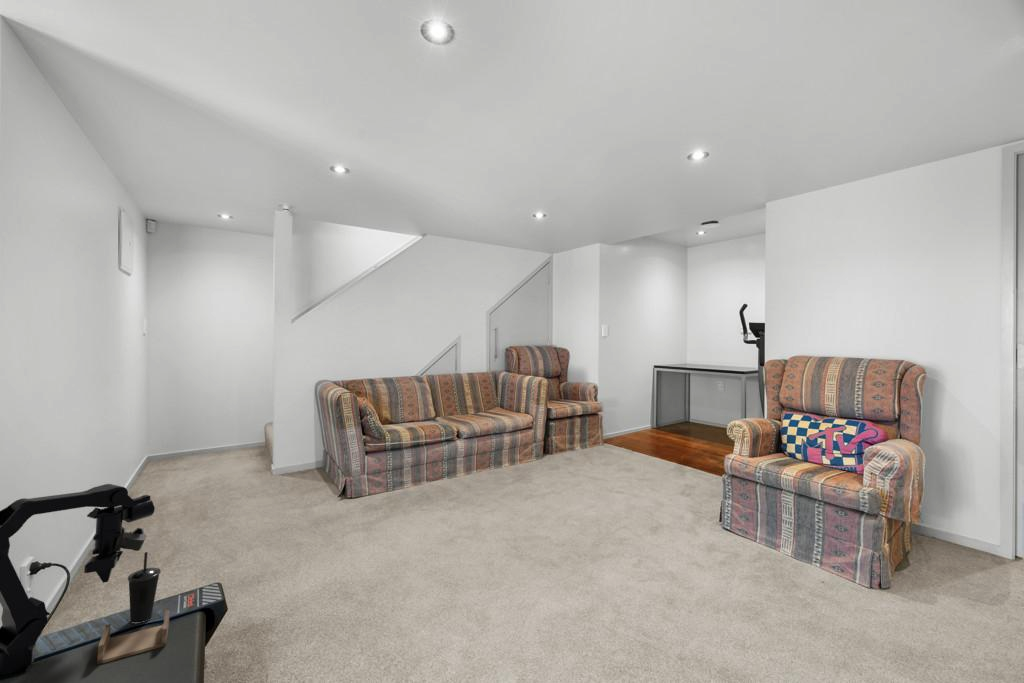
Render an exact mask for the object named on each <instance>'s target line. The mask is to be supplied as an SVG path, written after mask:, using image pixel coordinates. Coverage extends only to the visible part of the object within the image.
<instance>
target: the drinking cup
mask: <svg viewBox="0 0 1024 683" xmlns="http://www.w3.org/2000/svg"><path fill="white" fill-rule="evenodd" d="M147 563H148V552H147V551H145V552H144V557H143V568H142V569H138V570H136V571H134V572H132V573H131V574H129V575H128V577H127V581H128V586H129V587H128V590H129V591H128V592H129V593H128V594H129V595H128V597H129V615H130V616H129V618H130V620H131V621H130V623H131V622H142V621H146V620H148V619H149V620H150V619H151V618H152V616H153V610H154V603H155V598H156V594H157V587H158V583H159V577H160V575H161V568H159V567H147V565H148V564H147ZM149 620H148V621H149ZM146 622H147V621H146Z"/></svg>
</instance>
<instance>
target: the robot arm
mask: <svg viewBox="0 0 1024 683" xmlns="http://www.w3.org/2000/svg"><path fill="white" fill-rule="evenodd" d="M87 507H88V508H89V507H90V508H91V507H92V508H94V509H93V510H91V511H90V512H89V513H88V514H87V515H86V517H87V518H91V519H95V520H96V521H95V534H94V536H93V538H92V539H93V541H94V548H93V550H92V555H95V556H91V558H89V559H88V560H87V562H85V564H84V574H89V573H90V574H91V573H96V574H97V576H98V578H99V579H100V580H101V582H102V583H103V584H105V583H108V582H109V580H110V577H111V575H112V571H113V569H114V568H115V567H116V565H117V563H118V561H119V560H120V559H121V556H122V554H123V553H124V551H123V549H125V550H132V551H136V552H138V551H140V550H141V548H142V546H143V544H144V542H145V540H146V538H147V534H146V533H145V532H144V528H142V527H137V528H136V529H134V530H133V531H129V532H126V529H125V527H124V526H123V521H125V522H126V523H132V522H135V521H138V520H142V519H145V518H148V517H151V516H153V515H154V512H155V508H156V507H155V506H154V501H152V499H151V495H148V494H144V495H141V496H139V497H136V498H132V497H131V496H129V491H128V489H127V488H126V487H124V486H121V485H117V484H112V483H105V484H101V485H98V486H94V487H91V488H89V489H87V490H83V491H78V492H71V493H63V494H54V495H47V496H38V497H32V498H25V497H24V498H20V499H17V500H15V501H13V502H12V503H11V504H9V505H7V506H6V507H4V508H3V509H1V510H0V606H1V607H2V612H1V614H2V615H1V618H0V619H1V624H2V626H0V680H3V679H7V678H8V679H9V678H11V677H16V676H19V674H20V675H23V674H25V672H26V673H27V671H28V669H29V668H30V667H31V665H33V663H34V661H35V659H36V658H35V656H36V648H37V647H36V646H37V644H36V643H37V640H39V636H40V634H41V632H42V631H43V629H44V628H45V626H46V625H47V624H48V623H49V618H48V616H50V615H51V613H50V612H48V611H47V609H46V603H45V602H44V601H42V600H40V599H38V598H35V597H32V596H30V597H29V596H28V594H27V591H26V590H25V588H24V586H23V584H22V582H21V580H20V577H19V574H18V573H17V571H16V570H15V567H14V566H13V565H14V564H13V562H12V561H11V559H10V557H9V556H10V555H9V552H10V546H11V543H10V538H11V537H12V536H14V535H15V534H16V533H18V532H19V531H20V530H21V528H22V527H23V526H24V524H25V523H26V522H27V521H28V520H29V519H30V518H31V517H33V516H35V515H42V514H49V513H55V512H60V511H67V510H73V509H74V510H75V509H81V508H87ZM121 549H122V550H121Z"/></svg>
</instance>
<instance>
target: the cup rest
mask: <svg viewBox="0 0 1024 683" xmlns="http://www.w3.org/2000/svg"><path fill="white" fill-rule="evenodd" d="M170 612H171V611H170V609H168V610H165V612H164V617H163V618H164V619H163V624H162V625H158V626H153V627H149V628H146V629H142V630H138V631H134V632H130V633H129V632H128V633H126V634H121V635H117V636H114V637H111V627H112V626H111V623H108V624H106V625H105V627H104V629H103V632H102V635H101V636H100V640H99V643H98V646H97V660H96V665H97V664H98V665H101V664H100V663H102V664H104V663H109V662H112V661H115V660H116V661H117V660H119V659H122V658H126V657H131V656H134V655H138V654H141V653H145V652H147V651H148V652H149V651H153V650H156V649H159V648H162V647H166V646H167V640H168V633H169V626H170V625H169V624H170Z"/></svg>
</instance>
